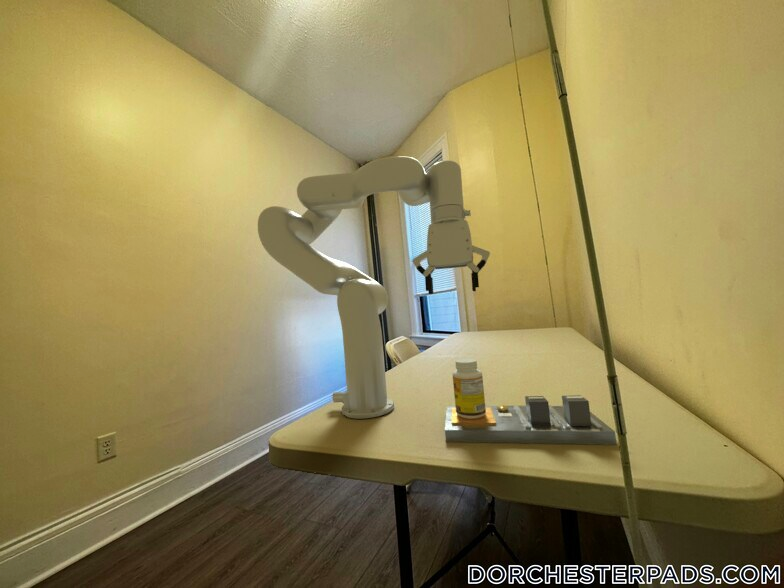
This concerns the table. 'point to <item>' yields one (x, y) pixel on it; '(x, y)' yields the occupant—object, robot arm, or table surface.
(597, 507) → the table surface
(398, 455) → the table surface
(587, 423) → the block
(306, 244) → the robot arm
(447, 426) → the panel
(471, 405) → the supplement bottle
